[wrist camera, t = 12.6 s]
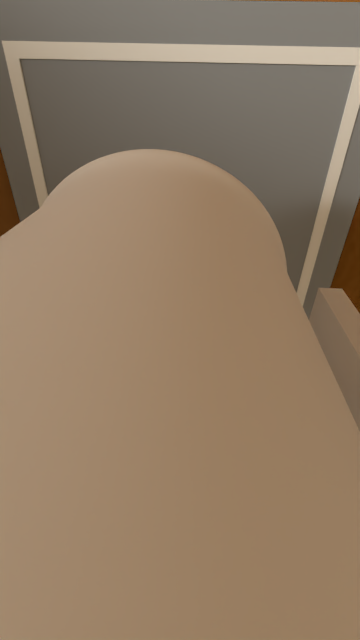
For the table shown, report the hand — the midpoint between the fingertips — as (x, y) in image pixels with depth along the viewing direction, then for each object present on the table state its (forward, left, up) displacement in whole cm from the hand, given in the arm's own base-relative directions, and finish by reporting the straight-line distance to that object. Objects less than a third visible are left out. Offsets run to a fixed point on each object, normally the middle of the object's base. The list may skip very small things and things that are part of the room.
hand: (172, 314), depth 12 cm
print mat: (0, 0, -9) cm, 9 cm away
